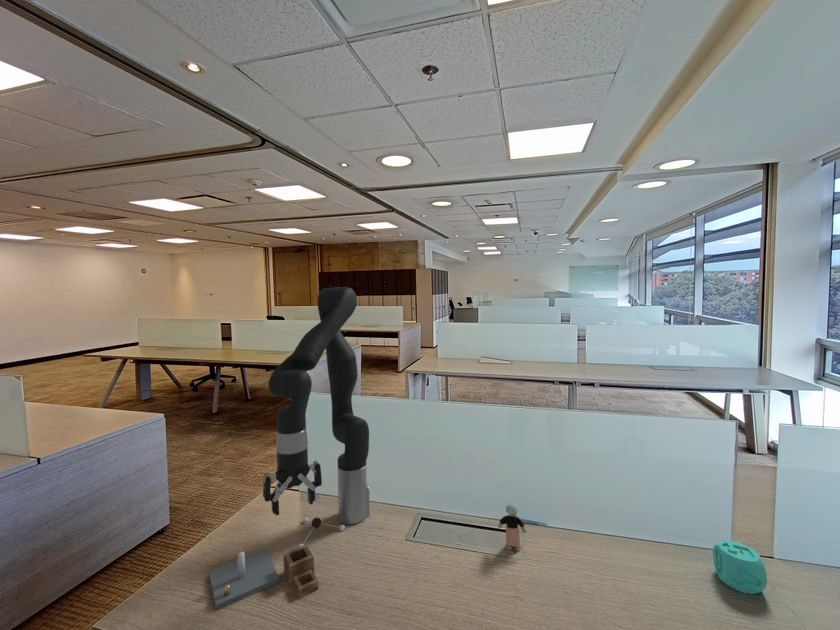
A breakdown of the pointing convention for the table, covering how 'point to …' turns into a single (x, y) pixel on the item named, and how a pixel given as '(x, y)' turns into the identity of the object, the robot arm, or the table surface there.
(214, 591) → the slate board
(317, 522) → the molecular model
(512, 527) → the grandmother figurine
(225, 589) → the brass dowel
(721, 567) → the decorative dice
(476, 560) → the table surface
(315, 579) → the brown hollow open box
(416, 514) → the table surface
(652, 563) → the table surface
